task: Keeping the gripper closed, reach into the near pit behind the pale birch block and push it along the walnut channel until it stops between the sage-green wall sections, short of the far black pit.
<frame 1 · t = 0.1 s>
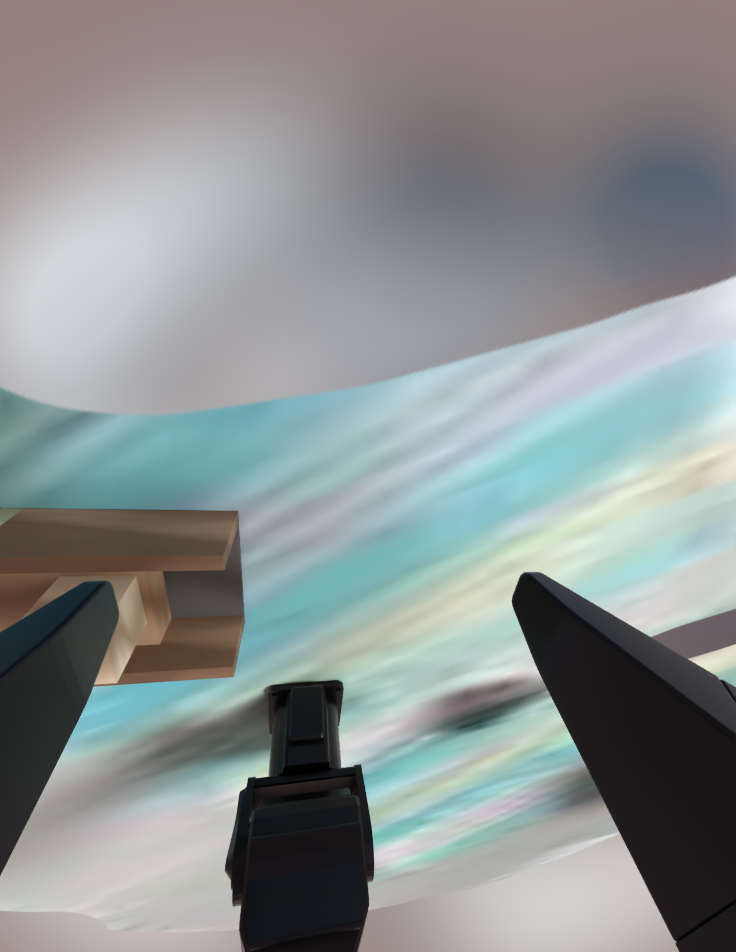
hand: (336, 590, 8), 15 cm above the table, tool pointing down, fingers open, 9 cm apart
trap box: (30, 574, 23), on the table
birch block: (105, 601, 21), point 2 cm above the table, touching trap box
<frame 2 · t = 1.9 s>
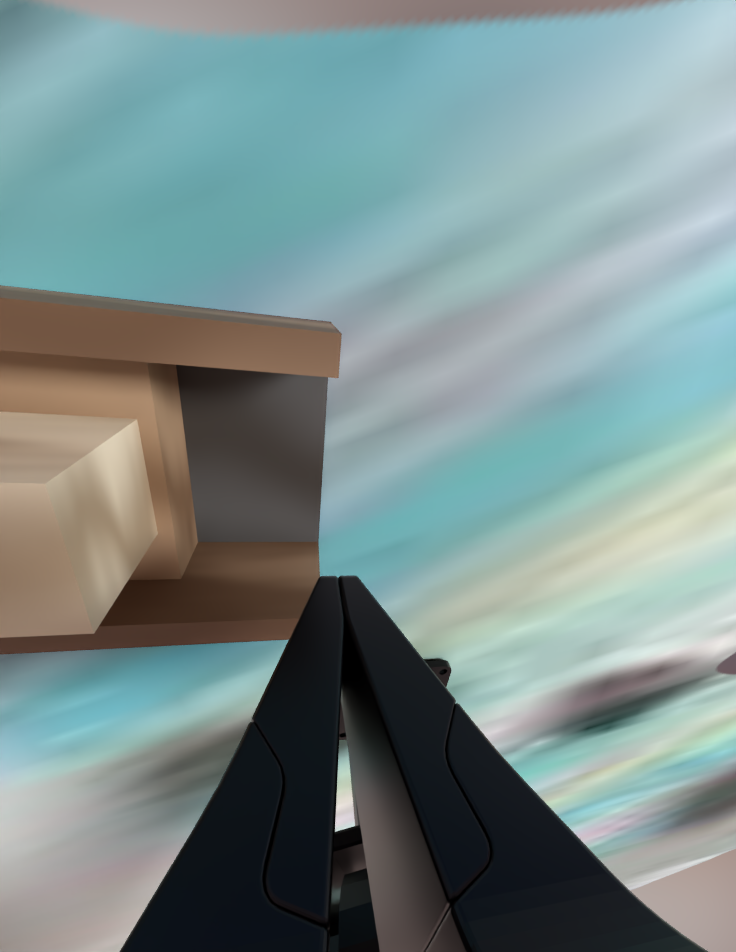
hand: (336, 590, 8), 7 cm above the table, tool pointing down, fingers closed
birch block: (75, 479, 11), point 2 cm above the table, touching trap box
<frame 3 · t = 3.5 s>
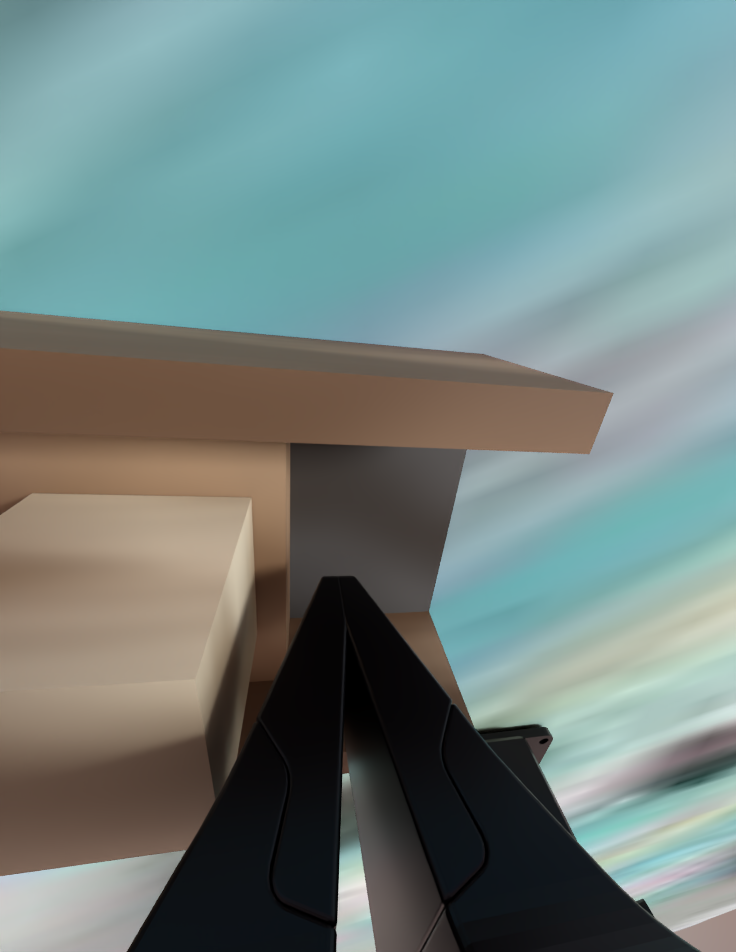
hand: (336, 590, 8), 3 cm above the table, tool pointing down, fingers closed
birch block: (161, 573, 8), point 3 cm above the table, touching gripper
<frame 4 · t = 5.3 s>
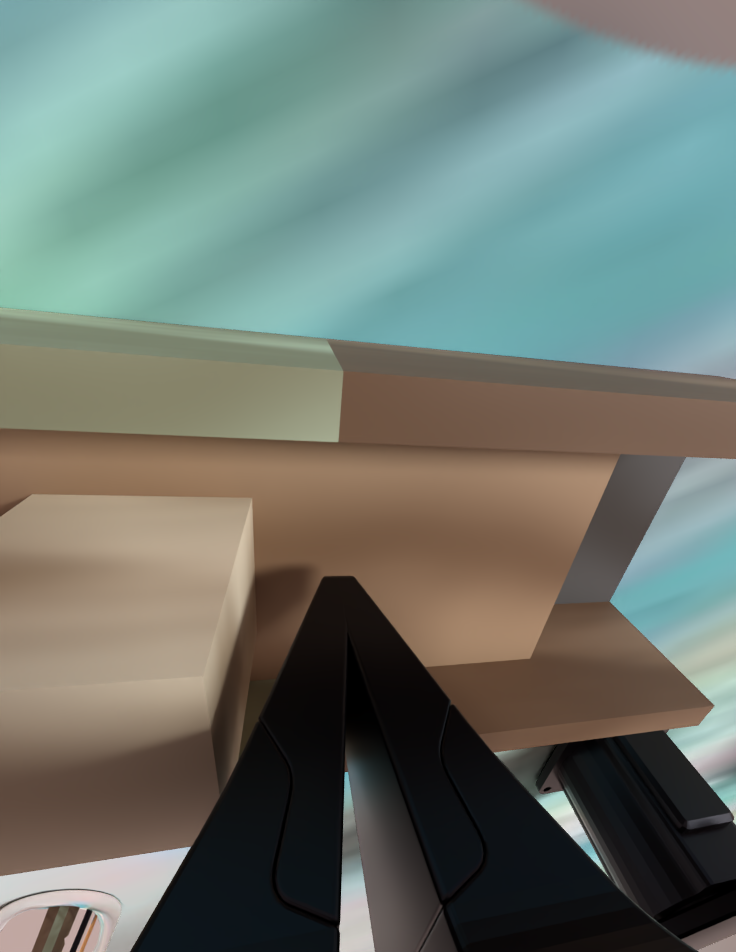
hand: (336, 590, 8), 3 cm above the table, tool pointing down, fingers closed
beer glass: (63, 907, 20), on the table
trap box: (283, 512, 11), on the table
birch block: (162, 573, 8), point 2 cm above the table, touching gripper, trap box
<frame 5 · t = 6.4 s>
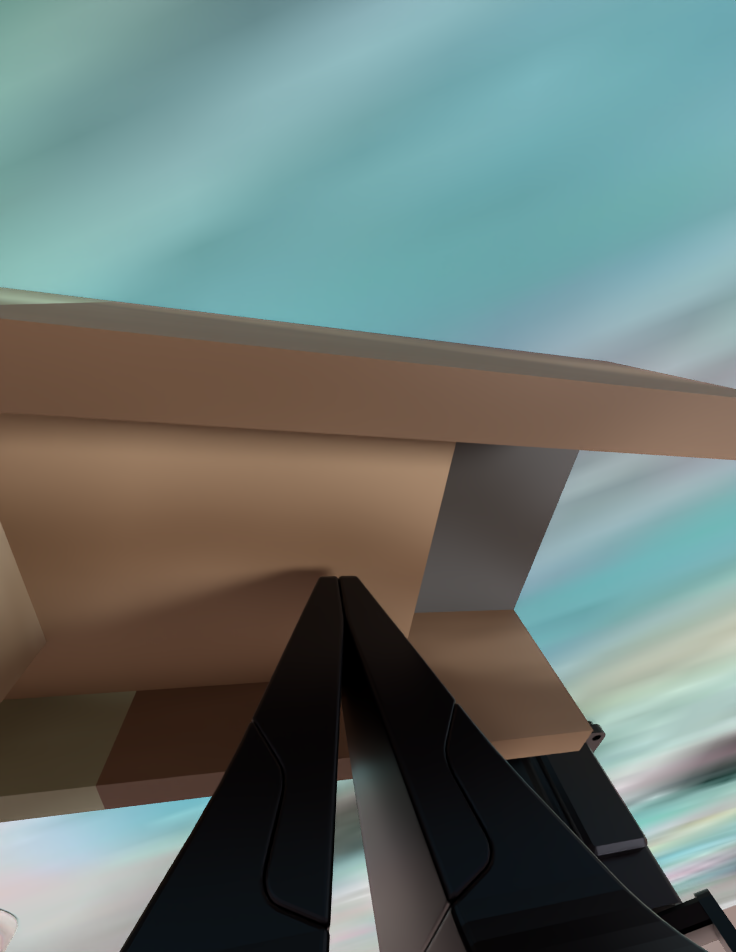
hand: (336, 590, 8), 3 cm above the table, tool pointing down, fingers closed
trap box: (110, 505, 9), on the table
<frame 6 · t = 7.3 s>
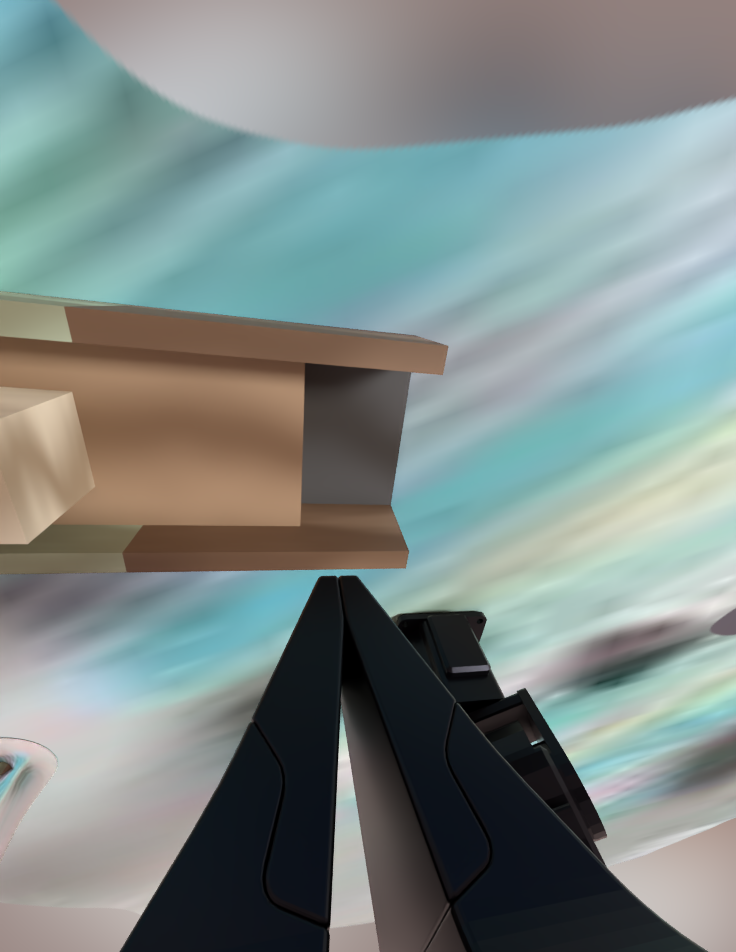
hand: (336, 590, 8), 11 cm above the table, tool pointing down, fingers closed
beer glass: (11, 758, 25), on the table
trap box: (127, 422, 16), on the table
birch block: (26, 439, 14), point 2 cm above the table, touching trap box
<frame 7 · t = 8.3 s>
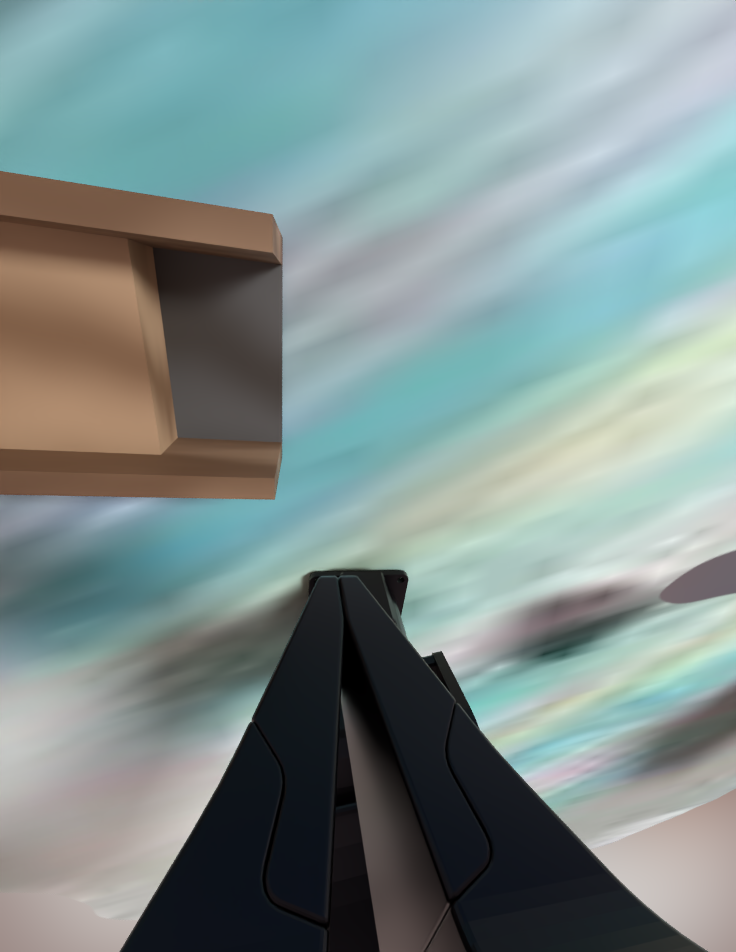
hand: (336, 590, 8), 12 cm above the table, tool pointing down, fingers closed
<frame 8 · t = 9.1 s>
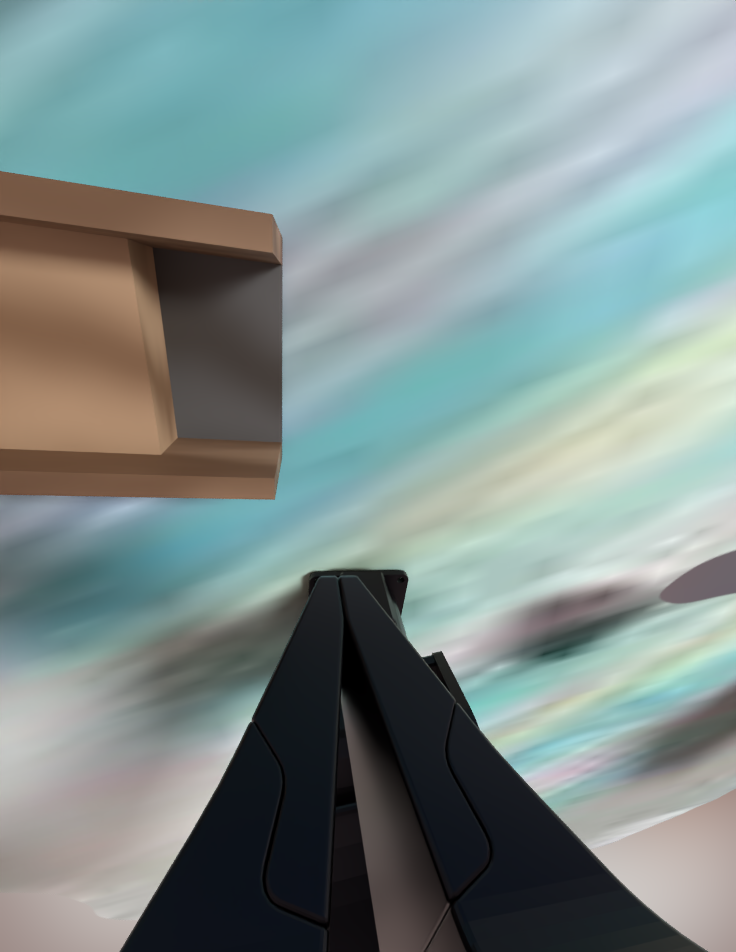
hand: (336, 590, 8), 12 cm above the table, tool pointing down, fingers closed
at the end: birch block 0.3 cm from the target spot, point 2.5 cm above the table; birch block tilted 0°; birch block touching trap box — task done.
